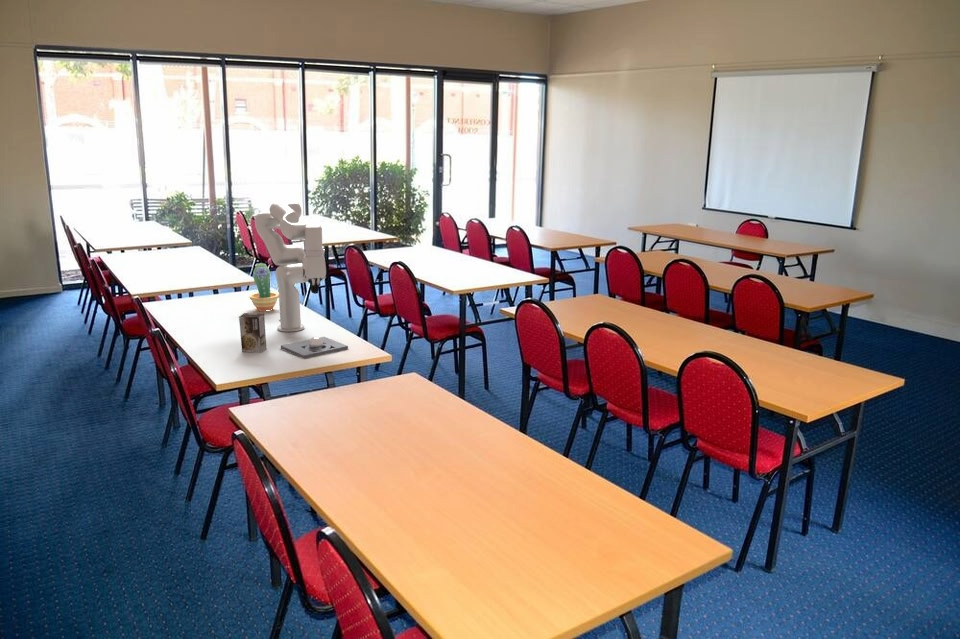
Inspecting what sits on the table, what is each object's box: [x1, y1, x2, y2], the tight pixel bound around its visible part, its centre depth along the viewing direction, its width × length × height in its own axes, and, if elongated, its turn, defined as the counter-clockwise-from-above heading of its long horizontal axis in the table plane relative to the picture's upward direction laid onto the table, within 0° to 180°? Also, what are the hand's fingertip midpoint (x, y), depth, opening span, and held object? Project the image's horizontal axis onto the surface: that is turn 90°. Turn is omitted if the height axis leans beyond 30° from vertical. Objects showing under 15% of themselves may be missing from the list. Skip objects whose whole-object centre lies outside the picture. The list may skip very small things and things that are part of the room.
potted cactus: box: [248, 263, 279, 311], centre depth 390 cm, size 15×15×25 cm
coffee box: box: [238, 312, 267, 353], centre depth 319 cm, size 9×6×16 cm
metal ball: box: [309, 336, 323, 349], centre depth 321 cm, size 6×6×6 cm
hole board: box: [280, 336, 349, 360], centre depth 324 cm, size 20×22×2 cm
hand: (314, 292), depth 332 cm, fingers closed
